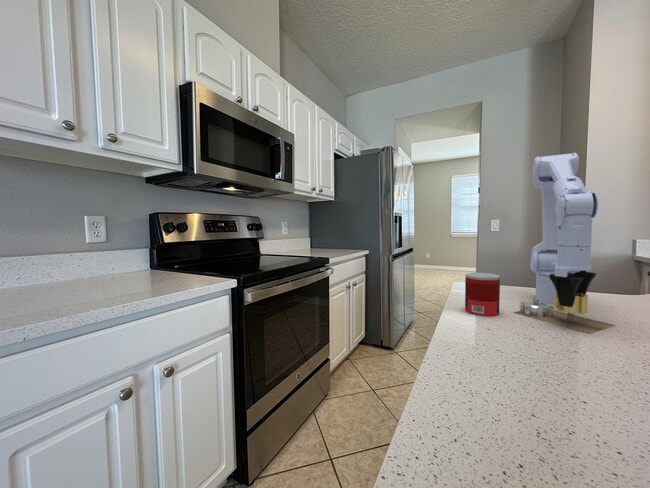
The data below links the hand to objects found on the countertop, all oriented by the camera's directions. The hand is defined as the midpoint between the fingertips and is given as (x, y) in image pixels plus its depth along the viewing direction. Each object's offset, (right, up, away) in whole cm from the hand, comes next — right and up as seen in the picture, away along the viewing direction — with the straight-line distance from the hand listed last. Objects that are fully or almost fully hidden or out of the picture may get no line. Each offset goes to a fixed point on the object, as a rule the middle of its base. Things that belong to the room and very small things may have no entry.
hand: (571, 303), depth 65 cm
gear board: (0, -5, +3) cm, 6 cm away
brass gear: (0, -2, 0) cm, 2 cm away
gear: (-3, -4, +7) cm, 9 cm away
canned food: (-16, -5, +9) cm, 19 cm away
